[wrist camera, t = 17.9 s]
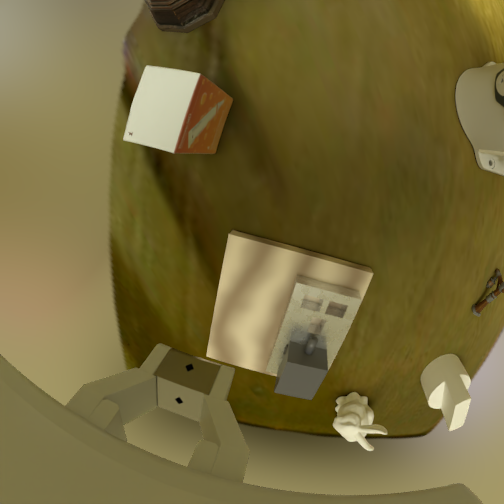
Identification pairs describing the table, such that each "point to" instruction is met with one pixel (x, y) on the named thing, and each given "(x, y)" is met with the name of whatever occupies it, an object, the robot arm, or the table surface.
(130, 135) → the small box
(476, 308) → the wooden post with brackets
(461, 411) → the cylinder with rectangular tab
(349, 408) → the rabbit
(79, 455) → the robot arm
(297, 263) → the board
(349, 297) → the socket
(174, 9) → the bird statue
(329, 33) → the table surface
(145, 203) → the table surface
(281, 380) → the plug
